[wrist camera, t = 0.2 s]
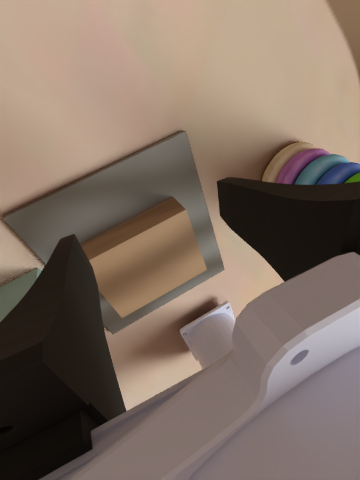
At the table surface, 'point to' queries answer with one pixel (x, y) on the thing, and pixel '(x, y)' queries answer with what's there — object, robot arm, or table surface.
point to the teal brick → (16, 291)
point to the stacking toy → (310, 167)
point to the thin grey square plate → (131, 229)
